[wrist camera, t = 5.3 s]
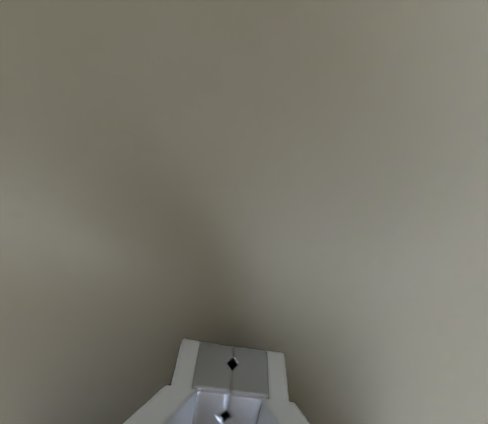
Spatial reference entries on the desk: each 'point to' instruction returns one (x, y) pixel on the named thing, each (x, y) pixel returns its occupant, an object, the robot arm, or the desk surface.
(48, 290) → the desk surface
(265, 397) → the robot arm
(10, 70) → the desk surface
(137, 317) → the desk surface
